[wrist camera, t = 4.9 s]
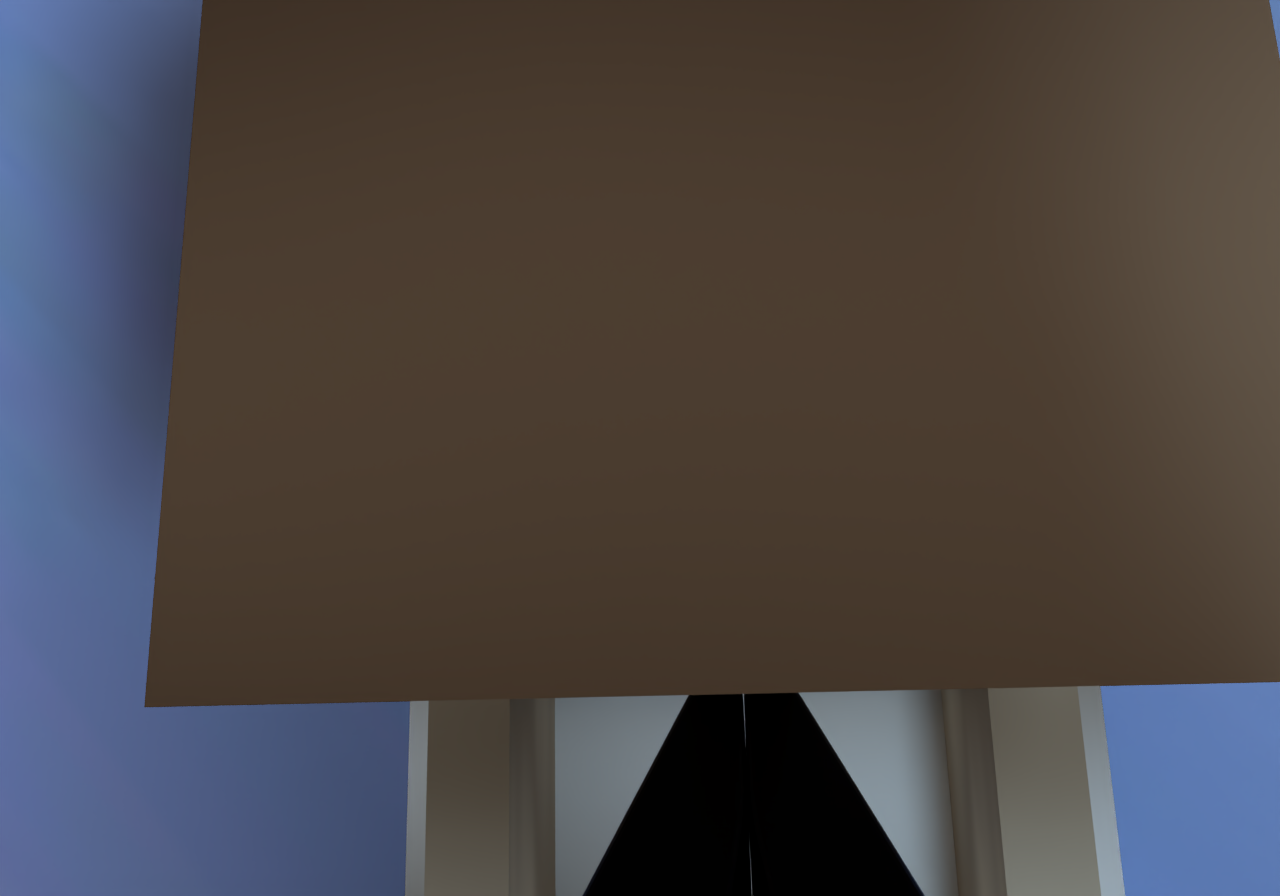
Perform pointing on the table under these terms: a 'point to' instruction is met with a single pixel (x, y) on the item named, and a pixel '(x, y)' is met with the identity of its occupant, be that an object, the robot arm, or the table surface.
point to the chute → (638, 725)
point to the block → (723, 350)
